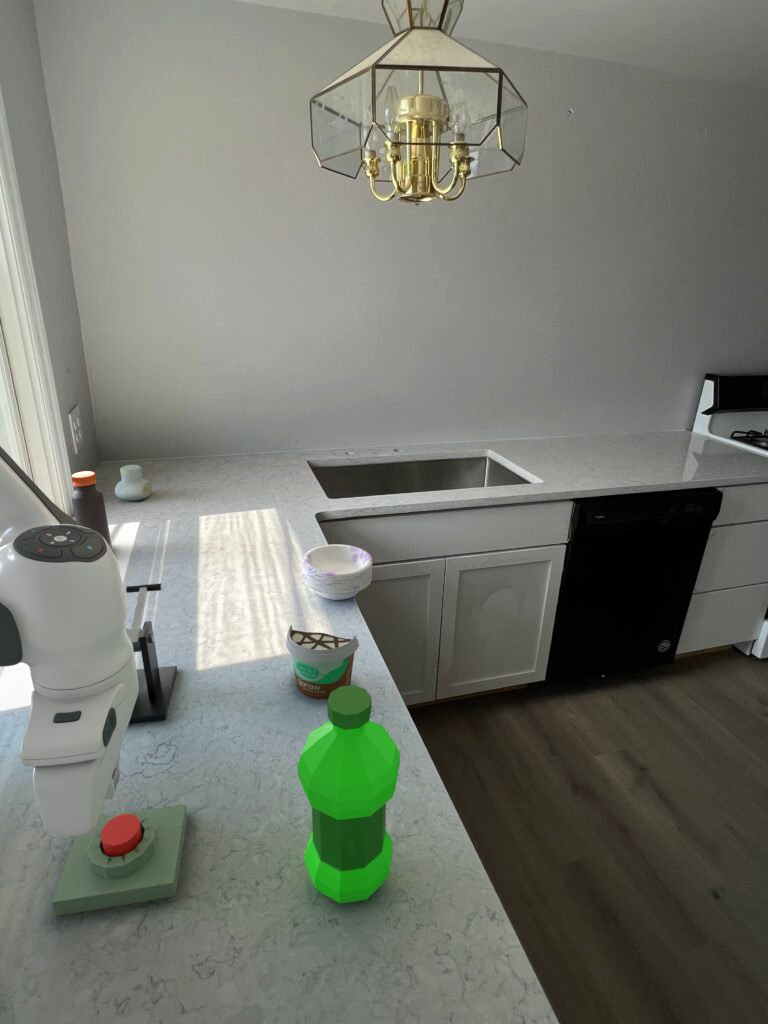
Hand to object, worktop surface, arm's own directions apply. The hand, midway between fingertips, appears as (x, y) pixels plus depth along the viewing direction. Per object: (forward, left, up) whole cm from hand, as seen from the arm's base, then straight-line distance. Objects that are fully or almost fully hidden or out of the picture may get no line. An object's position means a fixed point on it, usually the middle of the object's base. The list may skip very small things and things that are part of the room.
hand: (109, 788), depth 60 cm
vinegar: (-26, +87, -12) cm, 91 cm away
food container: (+24, +26, -12) cm, 37 cm away
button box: (0, 0, -12) cm, 11 cm away
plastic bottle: (+25, -6, -12) cm, 29 cm away
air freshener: (-25, +125, -12) cm, 128 cm away
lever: (-4, +34, 0) cm, 34 cm away
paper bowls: (+31, +59, -12) cm, 68 cm away
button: (0, 0, -8) cm, 8 cm away
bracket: (-4, +29, -12) cm, 31 cm away
